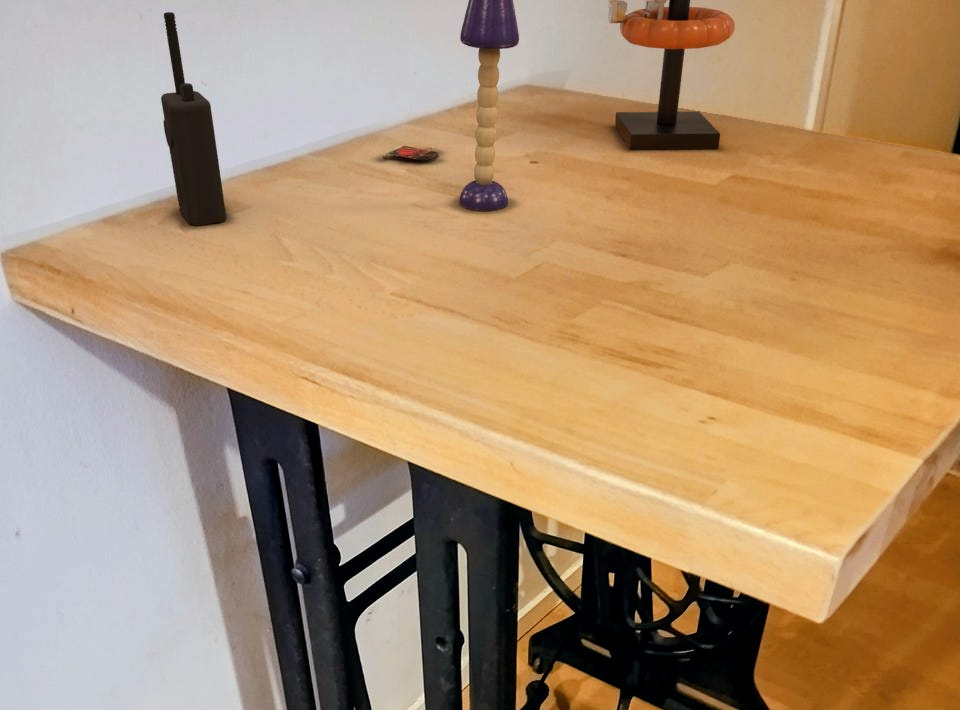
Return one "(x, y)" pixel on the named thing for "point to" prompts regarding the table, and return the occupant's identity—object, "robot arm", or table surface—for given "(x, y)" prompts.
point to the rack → (668, 108)
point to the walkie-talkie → (191, 143)
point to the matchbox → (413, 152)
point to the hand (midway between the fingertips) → (634, 22)
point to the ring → (678, 29)
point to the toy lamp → (487, 94)
